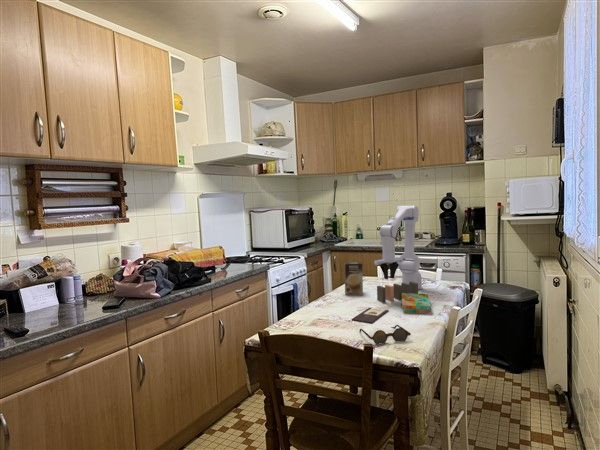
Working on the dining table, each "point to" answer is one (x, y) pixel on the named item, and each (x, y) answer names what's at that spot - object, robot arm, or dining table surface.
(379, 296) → the domino
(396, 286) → the domino
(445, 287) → the dining table surface
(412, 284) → the domino
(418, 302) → the puzzle game
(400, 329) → the eyeglasses
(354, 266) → the coffee box
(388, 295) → the domino
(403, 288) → the domino
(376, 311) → the chocolate bar
